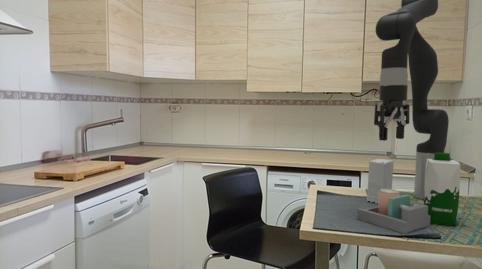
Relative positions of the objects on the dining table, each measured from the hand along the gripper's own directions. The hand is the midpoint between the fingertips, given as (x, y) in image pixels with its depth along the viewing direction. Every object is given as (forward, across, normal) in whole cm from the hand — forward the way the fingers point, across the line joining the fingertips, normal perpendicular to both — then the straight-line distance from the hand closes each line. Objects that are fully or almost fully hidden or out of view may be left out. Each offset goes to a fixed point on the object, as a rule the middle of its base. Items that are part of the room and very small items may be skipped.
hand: (391, 139), depth 105 cm
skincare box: (+24, -15, -14) cm, 32 cm away
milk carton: (+24, -10, +10) cm, 28 cm away
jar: (+23, +3, +1) cm, 23 cm away
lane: (+24, +3, +3) cm, 24 cm away
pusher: (+23, +3, +6) cm, 24 cm away
